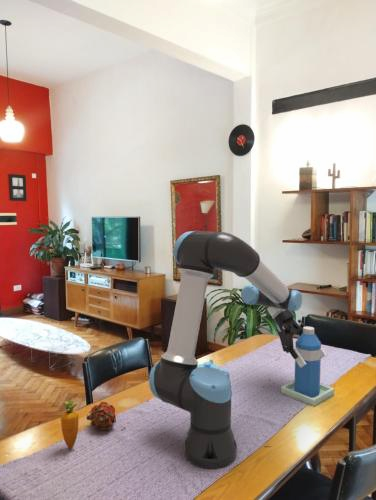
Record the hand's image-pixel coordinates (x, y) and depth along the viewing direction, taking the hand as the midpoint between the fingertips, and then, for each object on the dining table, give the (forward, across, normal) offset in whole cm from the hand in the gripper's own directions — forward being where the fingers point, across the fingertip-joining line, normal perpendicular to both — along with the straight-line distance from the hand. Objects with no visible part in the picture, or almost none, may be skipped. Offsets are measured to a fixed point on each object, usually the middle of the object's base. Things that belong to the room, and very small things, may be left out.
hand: (313, 361), depth 147 cm
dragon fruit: (-14, +70, -33) cm, 79 cm away
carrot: (-10, +83, -30) cm, 89 cm away
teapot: (-11, +27, -31) cm, 42 cm away
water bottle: (+8, 0, -11) cm, 13 cm away
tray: (+8, 0, -11) cm, 14 cm away
